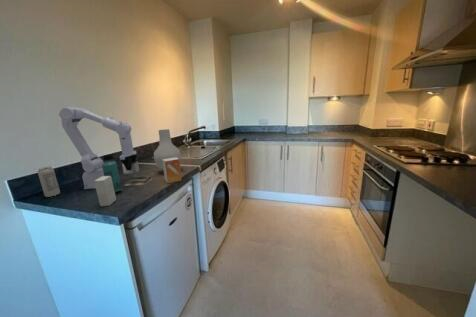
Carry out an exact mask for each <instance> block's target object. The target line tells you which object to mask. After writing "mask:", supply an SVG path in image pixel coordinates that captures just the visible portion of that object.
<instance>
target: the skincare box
mask: <svg viewBox="0 0 476 317" xmlns="http://www.w3.org/2000/svg"><path fill="white" fill-rule="evenodd" d="M94 183H95V187H96V188H95V191H96V194H97V199H98V203H99V206H100V207H106V206H109V207H110V206H111V205H112V204H114V202H115V201H117V197H116V192H115V191H114V187H113V183H112V178H111V176H102V177H100V178H98V179H97V180H95V181H94Z"/></svg>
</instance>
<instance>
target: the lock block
mask: <svg viewBox="0 0 476 317" xmlns="http://www.w3.org/2000/svg"><path fill="white" fill-rule="evenodd" d="M121 166H122V167H121V168H122V171H123V175H124V174H125V175H127V174H137V173H139V172H140V166H139V161H136V162H131V170H128V171H127V170H126V168H125V166H124V164H123V163H122V164H121Z"/></svg>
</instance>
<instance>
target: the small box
mask: <svg viewBox="0 0 476 317" xmlns="http://www.w3.org/2000/svg"><path fill="white" fill-rule="evenodd" d="M162 162H163V169H164V170H163V176H164V182H166V183H167V184H171V183H177V182H181V181H182V180H183V179H182V173H181V172H182V171H181V164H180V163H181V160H180V161H179V159H178V158H177V157H174V158H168V159H162Z"/></svg>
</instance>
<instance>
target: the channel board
mask: <svg viewBox="0 0 476 317" xmlns="http://www.w3.org/2000/svg"><path fill="white" fill-rule="evenodd" d="M152 177H153V176H152V175H143V176H141V175H139V176H130V180H124V181H123V182H124V183H123V185H124V187H131V186H132V187H134V186H135V187H136V186H147V185H148V184H149V183H150V182H151V181H152V180H153V178H152Z"/></svg>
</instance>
